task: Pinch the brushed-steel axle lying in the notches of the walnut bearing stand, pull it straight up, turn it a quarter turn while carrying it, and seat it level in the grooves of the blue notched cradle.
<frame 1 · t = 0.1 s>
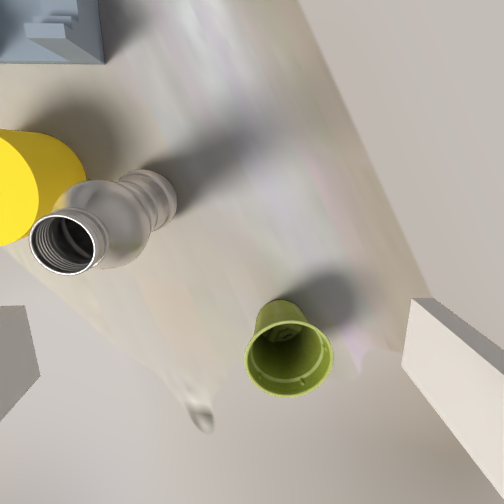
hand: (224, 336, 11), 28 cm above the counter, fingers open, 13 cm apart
yellow hollow cylinder: (41, 180, 37), on the counter
blue notched cradle: (30, 11, 32), on the counter
plant pot: (278, 319, 43), on the counter
metal bottle: (152, 197, 38), on the counter
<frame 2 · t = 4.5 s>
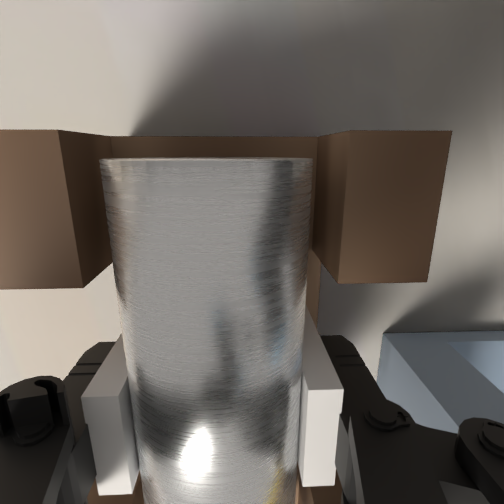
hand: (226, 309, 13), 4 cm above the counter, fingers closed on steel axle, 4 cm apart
blue notched cradle: (480, 396, 20), on the counter
bearing stand: (228, 276, 17), on the counter
steel axle: (222, 359, 10), point 7 cm above the counter, touching bearing stand, gripper
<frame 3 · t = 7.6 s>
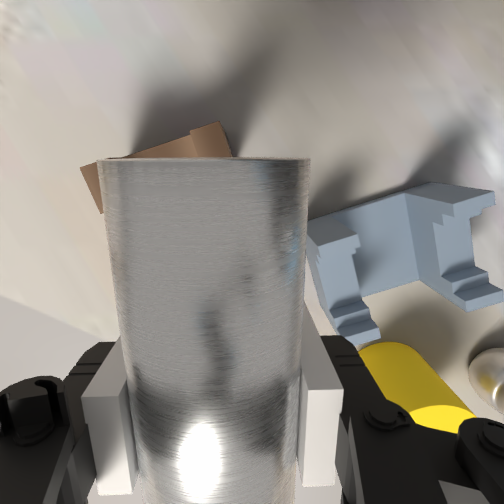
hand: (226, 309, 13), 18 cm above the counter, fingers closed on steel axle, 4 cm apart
yellow hollow cylinder: (381, 379, 37), on the counter
blue notched cradle: (372, 246, 32), on the counter
bearing stand: (201, 216, 31), on the counter
steel axle: (221, 359, 10), point 22 cm above the counter, touching gripper
metal bottle: (487, 363, 37), on the counter
when the fingers open (3 cm above the counter, at t = 10.6 s): steel axle drops 1 cm, resting on blue notched cradle.
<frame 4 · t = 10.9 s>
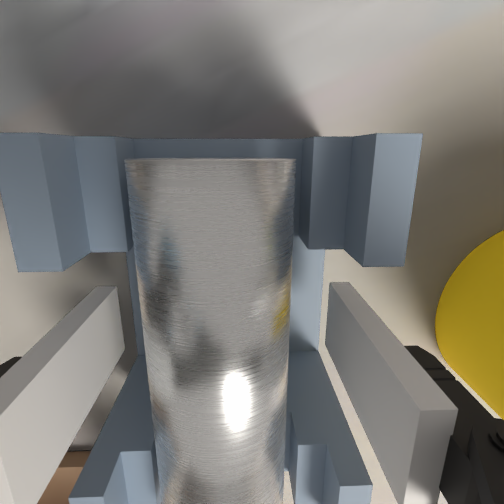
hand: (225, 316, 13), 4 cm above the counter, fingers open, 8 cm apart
blue notched cradle: (228, 280, 16), on the counter
steel axle: (223, 334, 12), point 5 cm above the counter, touching blue notched cradle
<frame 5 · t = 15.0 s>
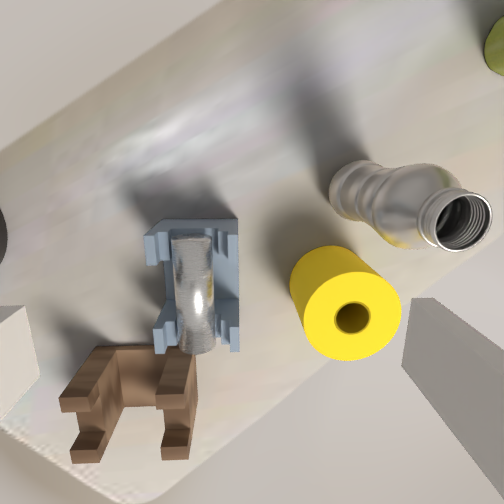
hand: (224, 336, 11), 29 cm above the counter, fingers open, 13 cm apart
yellow hollow cylinder: (327, 282, 42), on the counter
blue notched cradle: (202, 270, 41), on the counter
bearing stand: (148, 373, 45), on the counter
steel axle: (197, 286, 36), point 5 cm above the counter, touching blue notched cradle
metal bottle: (351, 188, 39), on the counter
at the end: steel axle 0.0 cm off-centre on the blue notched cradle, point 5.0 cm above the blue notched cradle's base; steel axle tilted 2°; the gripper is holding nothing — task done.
